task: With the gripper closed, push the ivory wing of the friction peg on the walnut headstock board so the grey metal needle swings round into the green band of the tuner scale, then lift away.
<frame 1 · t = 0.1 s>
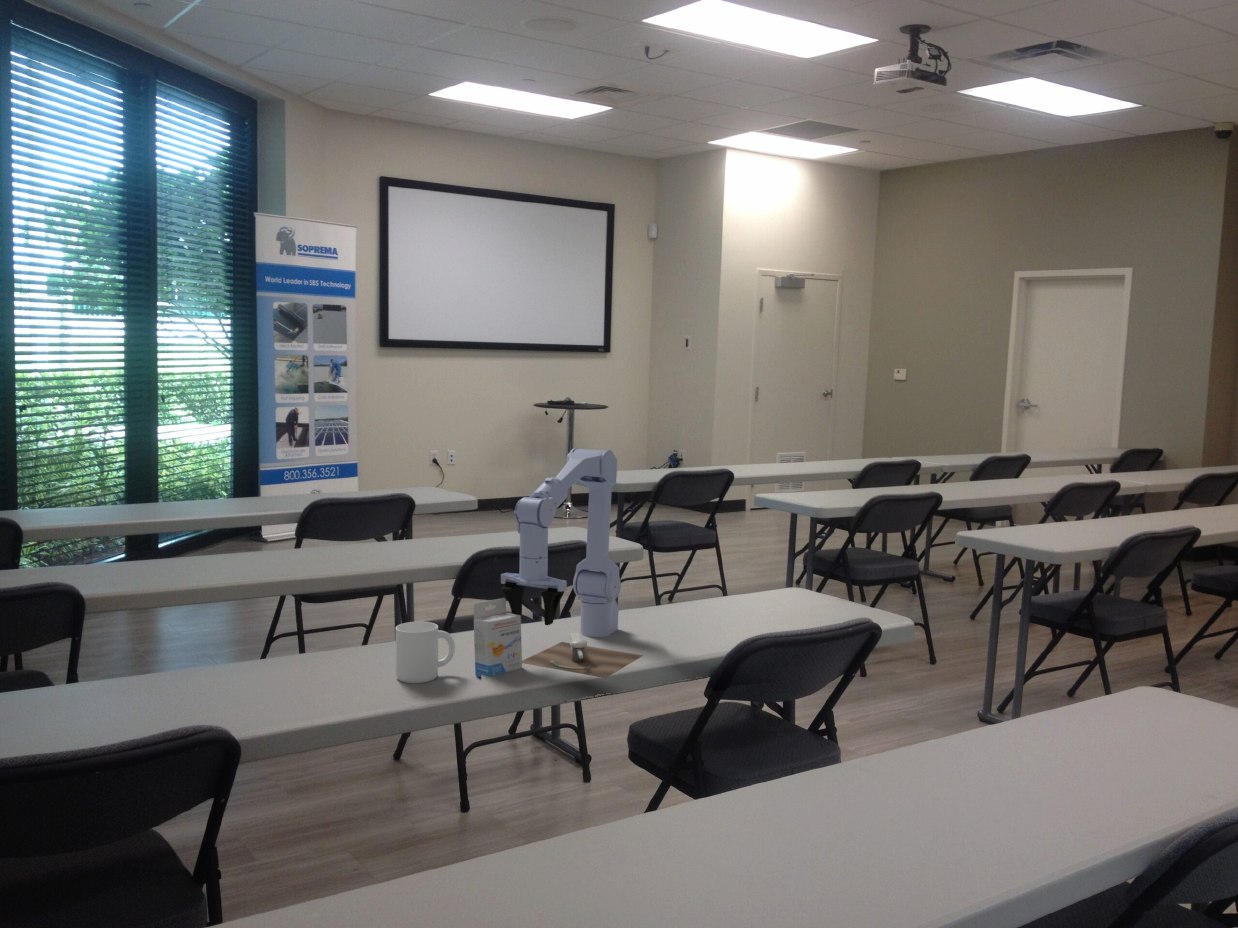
hand: (532, 621, 202), 10 cm above the table, fingers open, 7 cm apart
peg: (577, 648, 207), point 3 cm above the table, hinge at 35.0°
mug: (426, 677, 197), on the table
headstock: (578, 666, 206), on the table
ink box: (499, 675, 199), on the table, touching gripper
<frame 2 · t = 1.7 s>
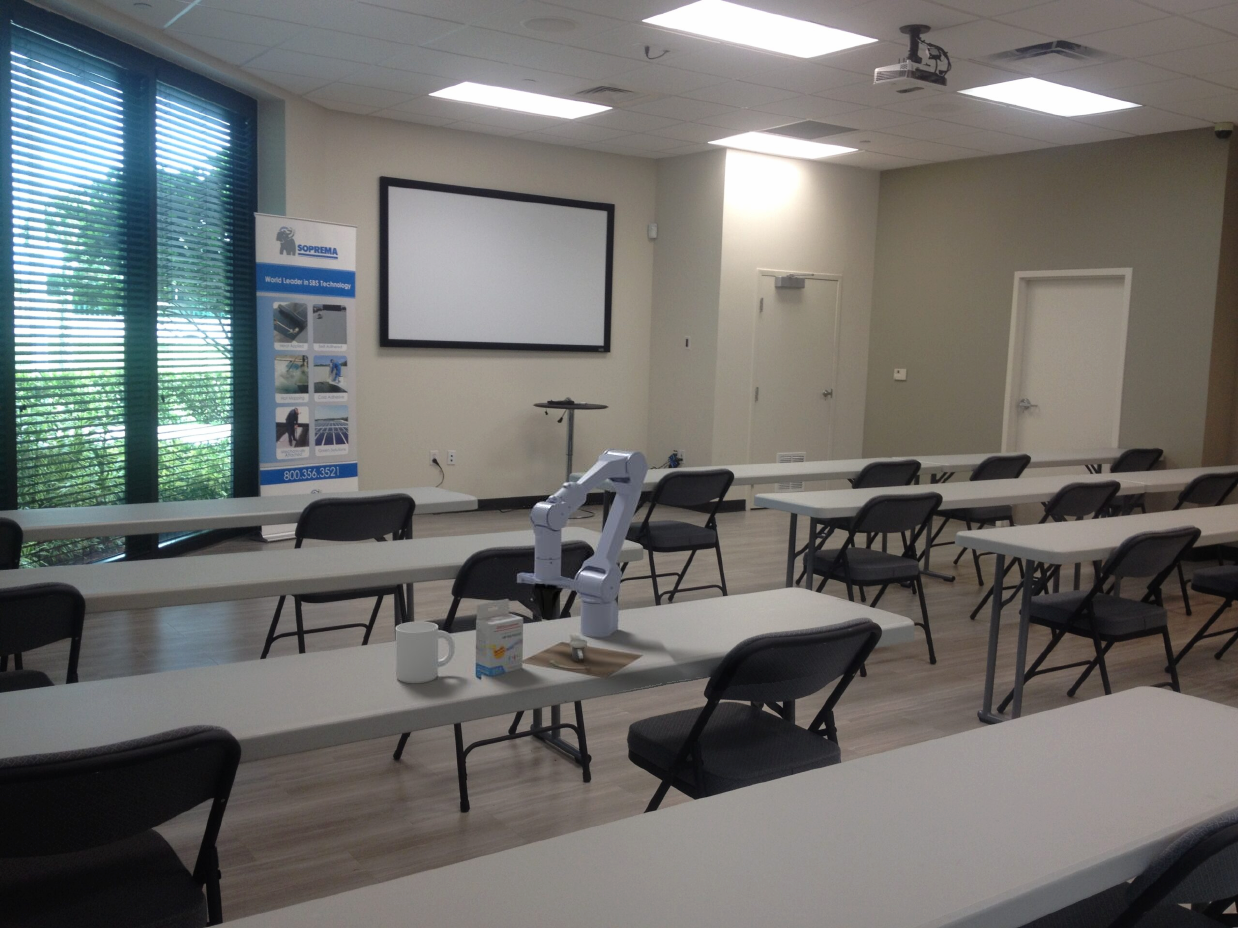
hand: (546, 618, 216), 7 cm above the table, fingers closed
ink box: (499, 675, 199), on the table
everything else where it was.
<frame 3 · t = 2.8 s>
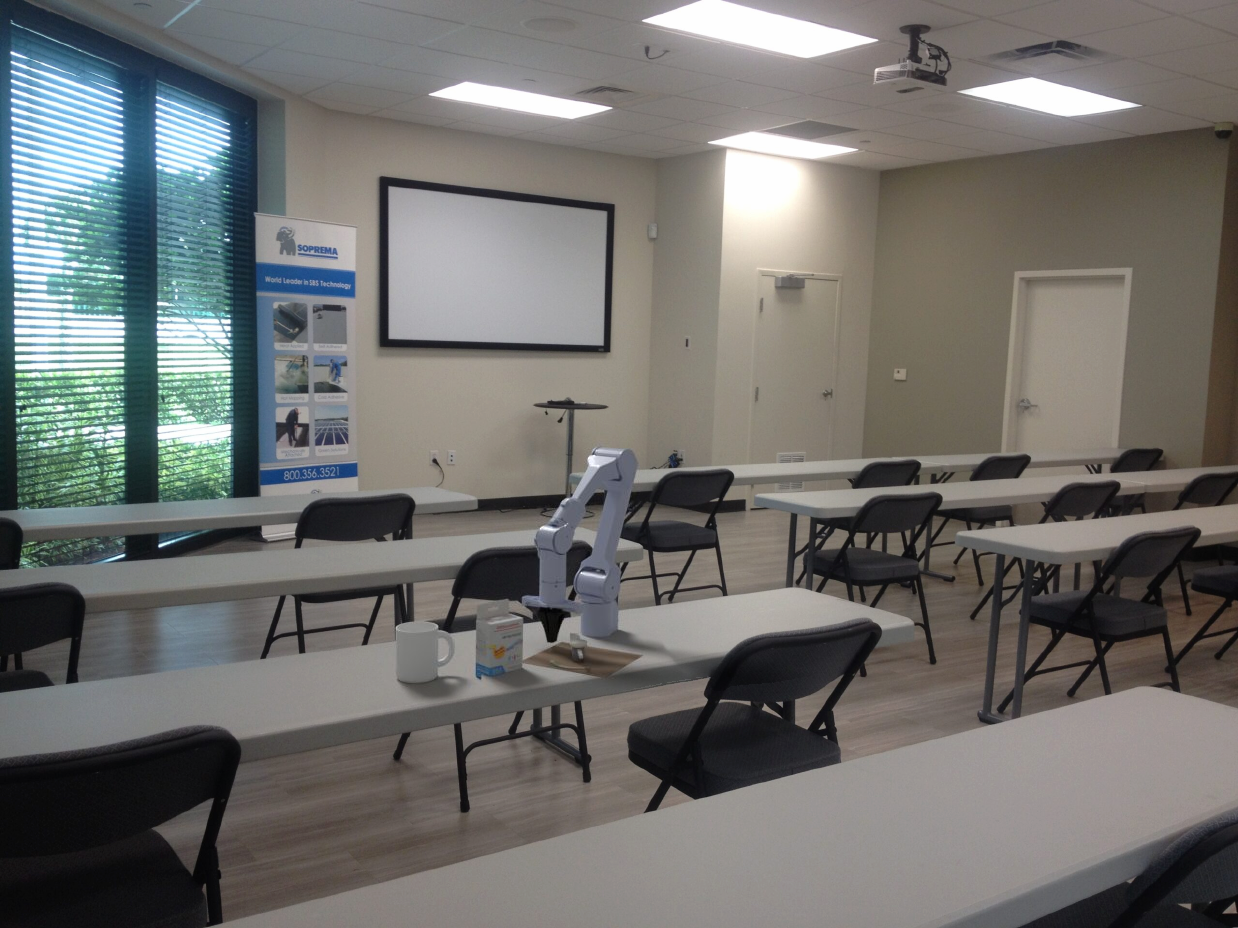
hand: (551, 641, 216), 2 cm above the table, fingers closed
nothing on the table moved.
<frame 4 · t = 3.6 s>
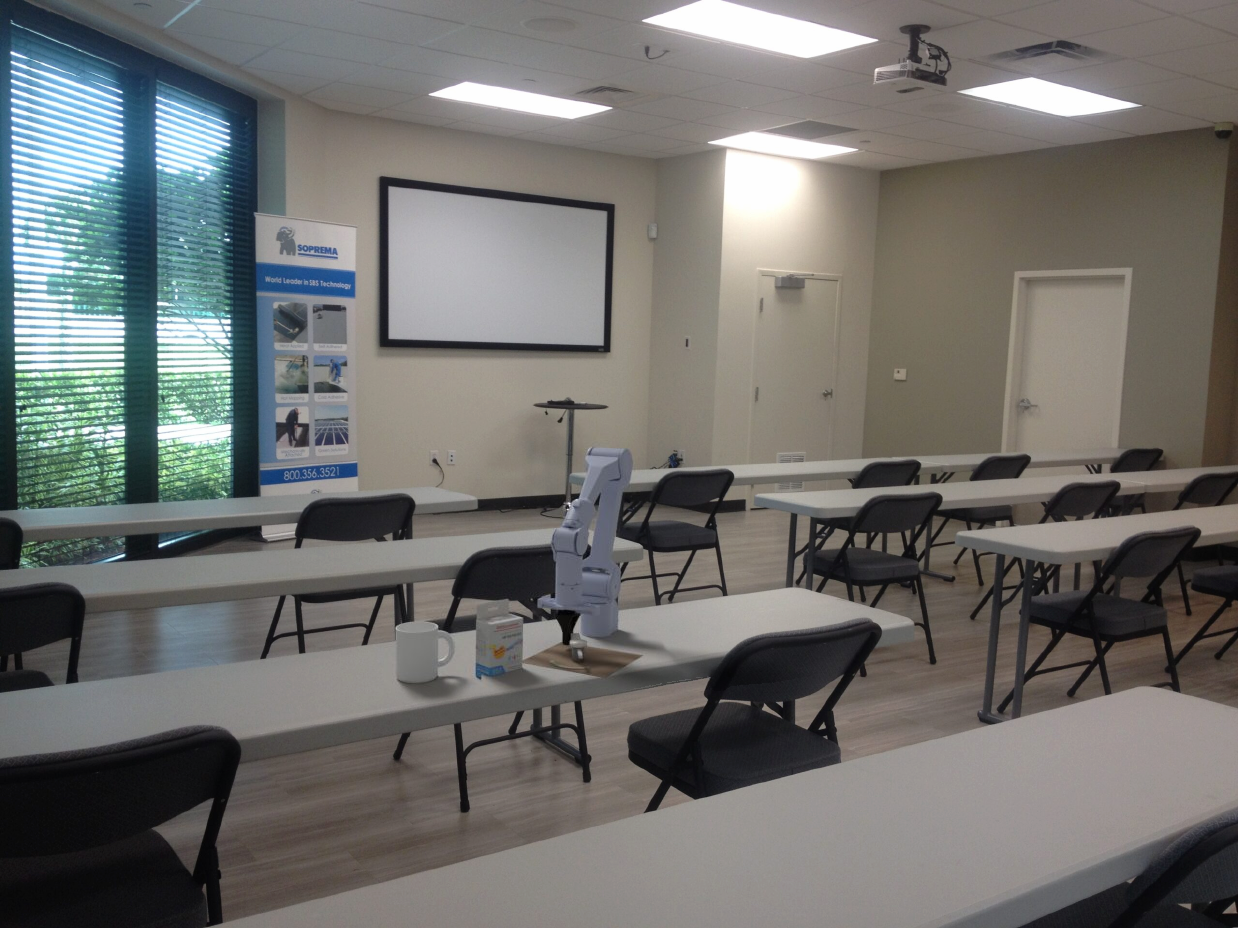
hand: (567, 644, 214), 2 cm above the table, fingers closed, pressing on peg
peg: (577, 648, 207), point 3 cm above the table, hinge at 34.1°, touching gripper
everything else where it was.
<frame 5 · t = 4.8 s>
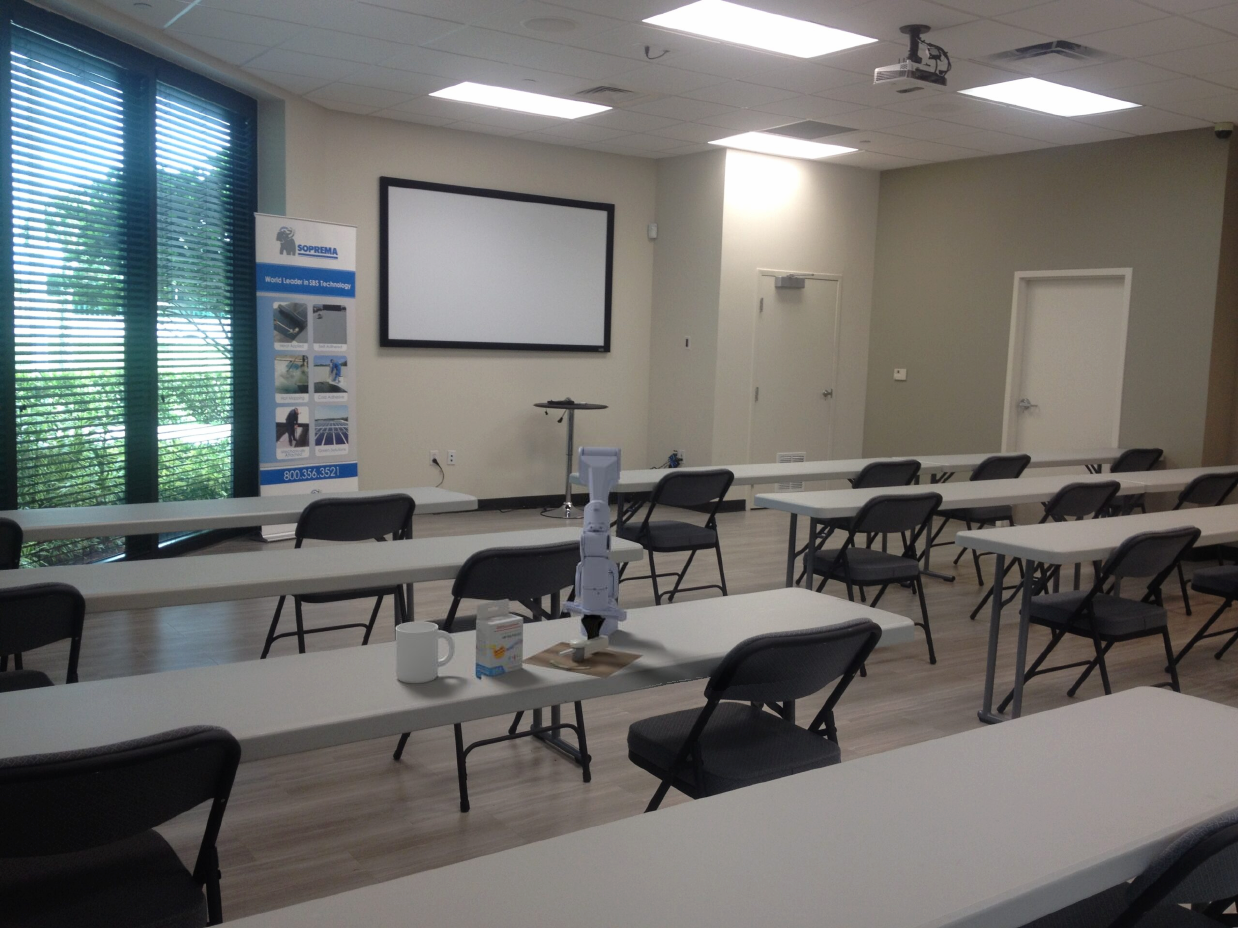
hand: (593, 648, 212), 2 cm above the table, fingers closed, pressing on peg
peg: (583, 649, 207), point 3 cm above the table, hinge at -11.1°, touching gripper
everything else where it was.
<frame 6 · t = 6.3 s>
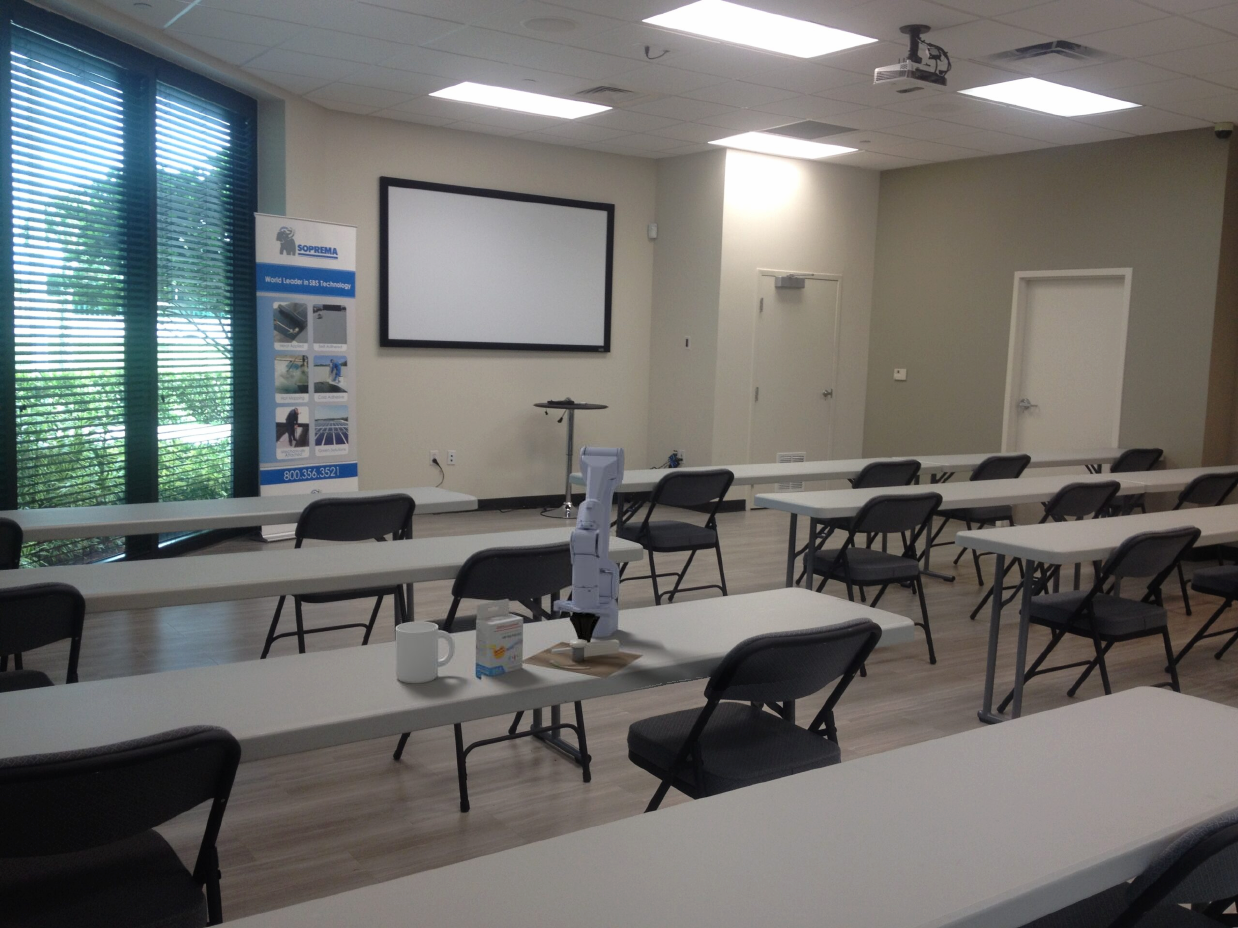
hand: (584, 646, 212), 2 cm above the table, fingers closed
peg: (585, 650, 206), point 3 cm above the table, hinge at -38.1°
everything else where it was.
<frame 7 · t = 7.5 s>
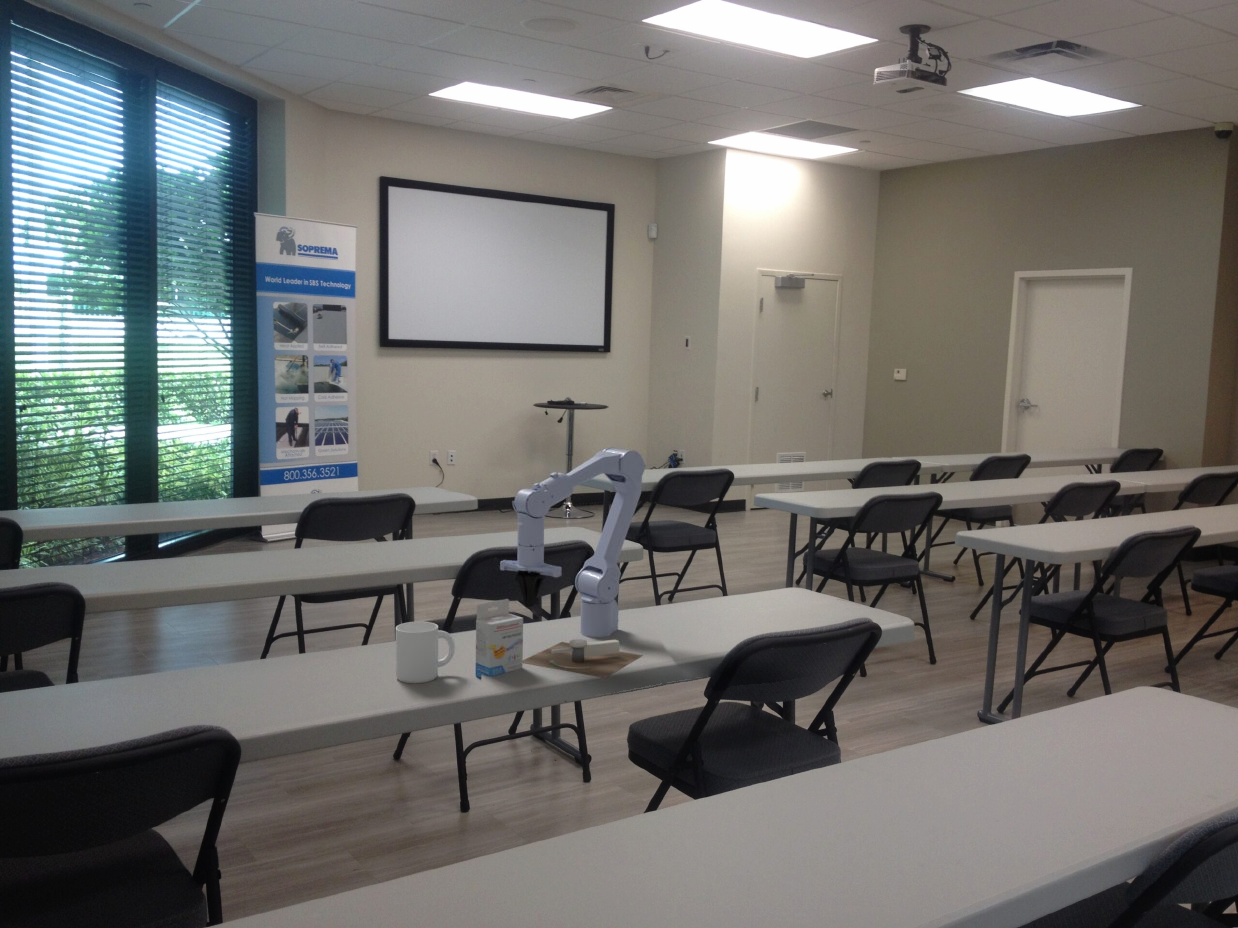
hand: (529, 605, 216), 10 cm above the table, fingers closed
nothing on the table moved.
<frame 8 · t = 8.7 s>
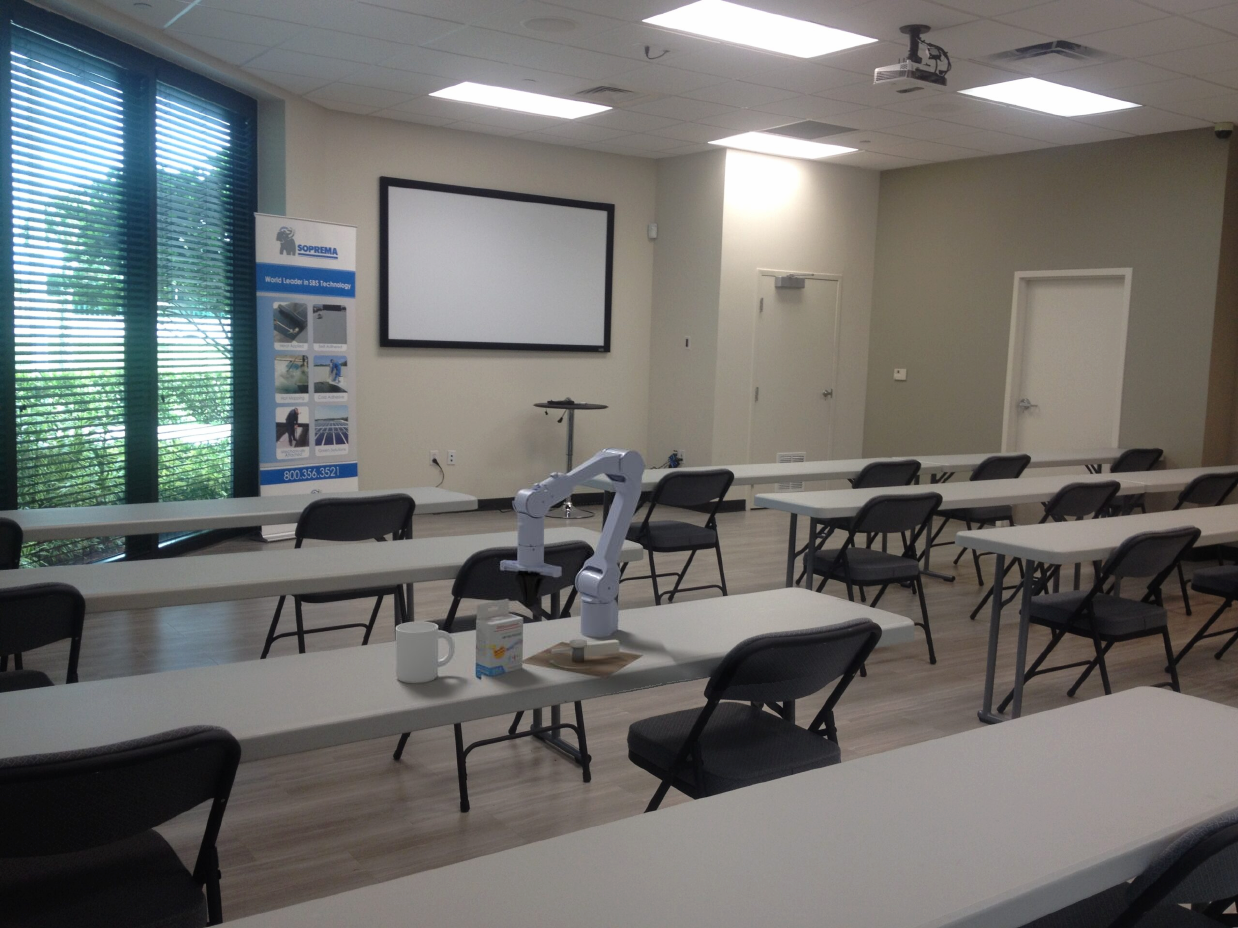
hand: (529, 605, 216), 10 cm above the table, fingers closed
nothing on the table moved.
at the end: peg at -38° (first picture: +35°) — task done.
